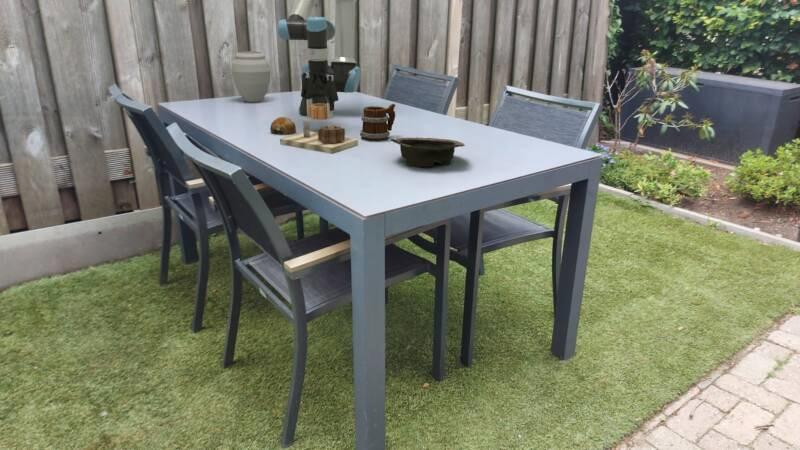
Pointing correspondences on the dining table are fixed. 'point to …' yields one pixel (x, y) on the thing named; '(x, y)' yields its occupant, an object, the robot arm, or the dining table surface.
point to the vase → (251, 75)
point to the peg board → (316, 143)
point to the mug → (377, 123)
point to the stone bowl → (427, 150)
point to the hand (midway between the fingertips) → (320, 116)
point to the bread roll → (283, 126)
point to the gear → (318, 111)
